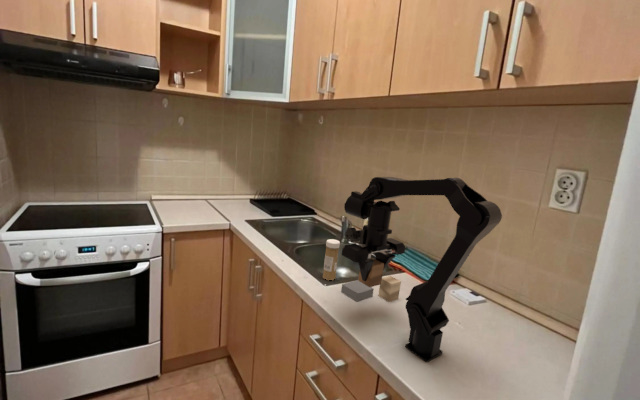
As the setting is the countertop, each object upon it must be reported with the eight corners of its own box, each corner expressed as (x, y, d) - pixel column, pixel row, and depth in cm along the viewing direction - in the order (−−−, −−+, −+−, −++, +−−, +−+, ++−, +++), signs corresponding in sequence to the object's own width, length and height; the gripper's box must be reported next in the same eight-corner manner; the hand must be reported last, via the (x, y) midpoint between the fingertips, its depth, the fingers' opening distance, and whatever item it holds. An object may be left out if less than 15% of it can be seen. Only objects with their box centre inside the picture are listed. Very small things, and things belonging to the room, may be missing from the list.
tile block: (372, 297, 108) (373, 288, 107) (356, 302, 103) (358, 293, 103) (356, 288, 113) (357, 279, 112) (341, 292, 108) (342, 284, 108)
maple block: (398, 299, 108) (401, 281, 107) (388, 302, 105) (391, 283, 104) (387, 292, 111) (390, 275, 110) (378, 295, 108) (380, 278, 107)
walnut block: (381, 284, 93) (384, 263, 92) (369, 287, 91) (372, 266, 89) (369, 277, 97) (372, 257, 95) (358, 280, 94) (361, 260, 93)
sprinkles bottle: (338, 279, 117) (342, 242, 114) (327, 282, 114) (331, 243, 112) (330, 274, 120) (334, 238, 118) (319, 276, 118) (323, 239, 115)
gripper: (380, 214, 102) (372, 263, 105) (331, 218, 91) (325, 273, 94) (410, 224, 94) (401, 277, 97) (360, 230, 82) (352, 290, 85)
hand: (370, 278), depth 93 cm, fingers closed on walnut block, 4 cm apart
